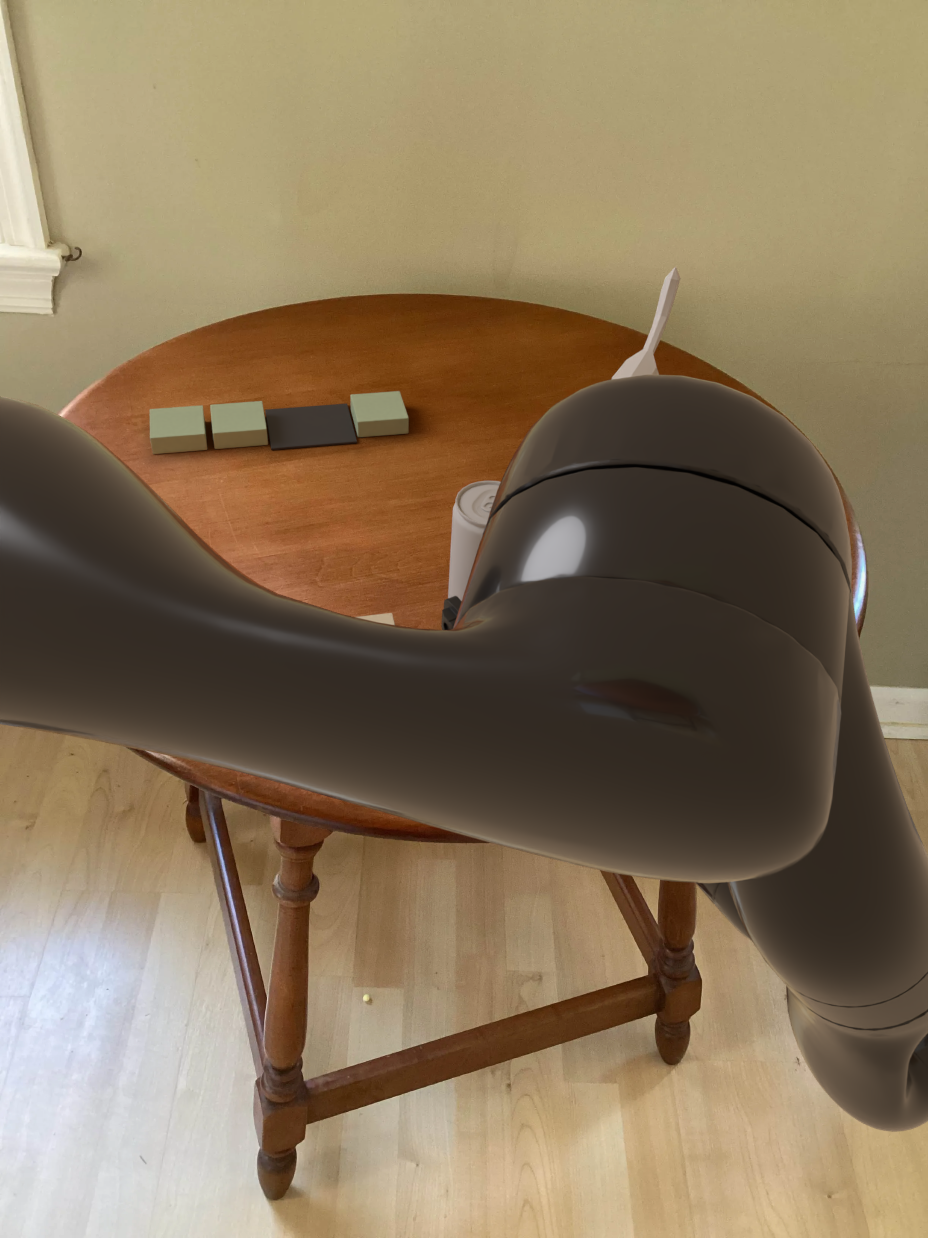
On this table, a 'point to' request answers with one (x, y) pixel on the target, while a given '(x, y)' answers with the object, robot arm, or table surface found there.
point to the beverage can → (468, 531)
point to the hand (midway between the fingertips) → (505, 585)
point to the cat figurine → (652, 333)
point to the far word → (278, 424)
